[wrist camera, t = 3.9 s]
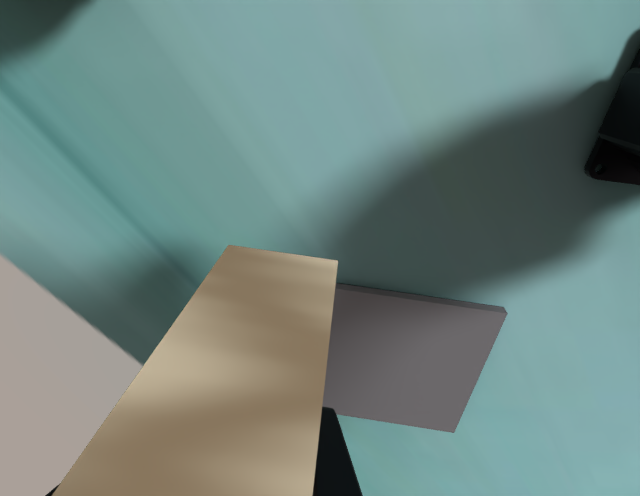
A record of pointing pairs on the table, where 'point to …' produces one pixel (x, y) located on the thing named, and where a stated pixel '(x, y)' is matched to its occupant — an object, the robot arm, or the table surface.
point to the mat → (406, 355)
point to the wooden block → (224, 389)
